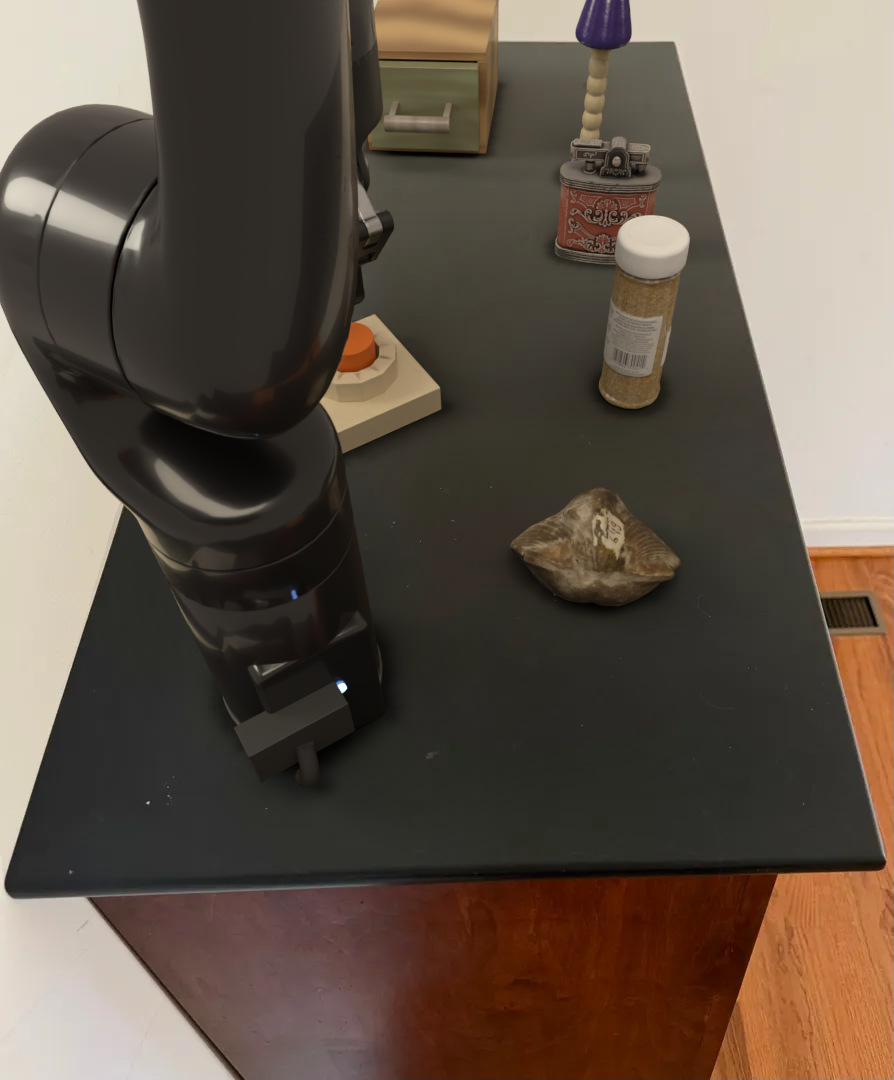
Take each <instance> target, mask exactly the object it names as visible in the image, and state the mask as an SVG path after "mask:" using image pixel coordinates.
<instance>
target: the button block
mask: <svg viewBox="0 0 894 1080" xmlns="http://www.w3.org/2000/svg"><path fill="white" fill-rule="evenodd" d="M355 322H356V323H360V324H363V325H365V326H367V327H368V328H370V329H371V331H372V332H373V335H374V343H375V351H376V358H375V361H374V363H373V364H372V365H371V366H370V367H368V368H365V369H363V370H360V371H358V372H346V373H341V372H338V371H337V372H336V374H335V376H334V378H333V380H332V382H331V384H330V386H329V388H328V390H327V392H326V394H325V395H324V397H323V398H322V399H321V401H320V403H321V404H322V405H323V407H324V408H325V409H326V411H327V412H328V414H329V415H330V417H331V419H332V421H333V423H334V425H335V427H336V430H337V433H338V436H339V439H340V444H341V448H342V453H343V454H346V453H347V452H349V451H352V450H354V449H356V448H358V447H361V446H363V445H365V444H367V443H370V442H373V441H374V440H376V439H379V438H381V437H383V436H385V435H387V434H390V433H392V432H394V431H397V430H399V429H401V428H403V427H405V426H407V425H410V424H413V423H414V422H416V421H418V420H421V419H423V418H426V417H428V416H430V415H432V414H435V413H436V412H438V411H441V410H442V398H441V397H442V396H441V387H440V386H439V384H438V383H437V382H436V381H435V380H434V379H433V378H432V376H431V375H430V374H429V373H428V372H427V371H426V369H424V368H423V366H422V365H421V364H420V363H419V362H418V361H417V360H416V359H415V358H414V356H413V355H412V354H411V353H410V352H409V351H408V350H407V348H406V347H405V346H404V345H403V344H402V343H401V341H400V340H398V338H397V337H396V336H395V335H394V334H393V333H392V332H391V330H390V329H389V328H388V327H387V326H386V324H384V323H383V322H382V320H381V319H380V318H379V317H378V316H377V315H376V314H375V313H374V314H371V315H369V316H366V317H364V318H361V319H359V320H356V321H355Z"/></svg>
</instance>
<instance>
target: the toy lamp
mask: <svg viewBox="0 0 894 1080" xmlns="http://www.w3.org/2000/svg"><path fill="white" fill-rule="evenodd" d="M632 28H633V26H632V15H631V1H630V0H585V1H584V4H583V7H582V8H581V12H580V15H579V18H578V20H577V24H576V26H575V38H576V41H578V42H579V43H580V44H581V45H583V46H585V47H586V48H589V49H590V54H591V58H590V59H589V61H588V72H589V75H588V77H587V80H586V91H587V92H586V94H585V97H584V111H583V113H582V118H581V119H582V120H581V122H582V127H581V130H580V134H579V139H593V140H600V134H601V133H600V127H601V125H602V121H603V112H602V110H603V109H604V106H605V102H606V101H605V100H606V98H605V93H606V90H607V86H608V78H607V75H608V73H609V72H610V71H609V70H610V65H611V64H610V58H609V57H610V56H611V54H612V51H613V50H617V49H621V48H622V47H626V46H627V45H628V44H629V42H631V39H632V37H633V36H632V35H633V29H632ZM568 161H577V160H573V159H571V158H570V159H569V160H568Z"/></svg>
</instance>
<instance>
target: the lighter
mask: <svg viewBox="0 0 894 1080" xmlns="http://www.w3.org/2000/svg"><path fill="white" fill-rule="evenodd" d="M569 153H570V154H569V158H570V159H573V160H577V161H569V160H568V161H566V162H564V163H563V164H562V165H561V166H560V168H559V181H560V182H561V184H560V197H559V200H560V201H559V213H558V226H557V236H556V238H555V241H554V252H555V254H556V255H557V256H558V257H559V258H561V259H566V260H571V261H575V262H581V263H588V264H598V265H616V263H615V249H616V242H617V235H618V232H619V230H620V228H621V226H622V225H623V224H624V223H626V222H627V221H629V220H631V219H633V218H636V217H639V216H646V215H654V213H655V207H656V201H657V194H658V189H659V188H660V186H661V183H662V177H663V173H662V171H661V170H660V169H659V168H658V167H656V166H654V165H650V164H648V163H649V161H650V154H651V146H650V145H649V144H648V143H647V144H645V143H633V142H632V143H630V142H629V141H628V139H627V138H626V137H624V136H614V137H612V139H611V140H610V141H603V139H598V140H593V139H580V138H574V140H573V141H571V143H570V151H569Z"/></svg>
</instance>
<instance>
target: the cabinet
mask: <svg viewBox="0 0 894 1080" xmlns="http://www.w3.org/2000/svg"><path fill="white" fill-rule="evenodd" d="M499 3H500V0H377V1H376V4H375V6H374V14H375V25H376V35H377V45H378V56H379V59H413V60H459V61H477V63H479V108H480V146H479V151H456V150H425V149H393V148H373V147H372V139H371V133H370V134H369V135H368V137H367V140H368V149H369V151H385V152H387V151H388V152H389V151H390V152H392V151H393V152H419V153H420V152H422V153H423V152H425V153H452V154H453V153H455V154H487V149H488V143H489V138H490V133H491V127H492V122H493V116H494V115H493V114H494V109H495V103H496V98H497V92H498V86H499Z"/></svg>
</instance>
